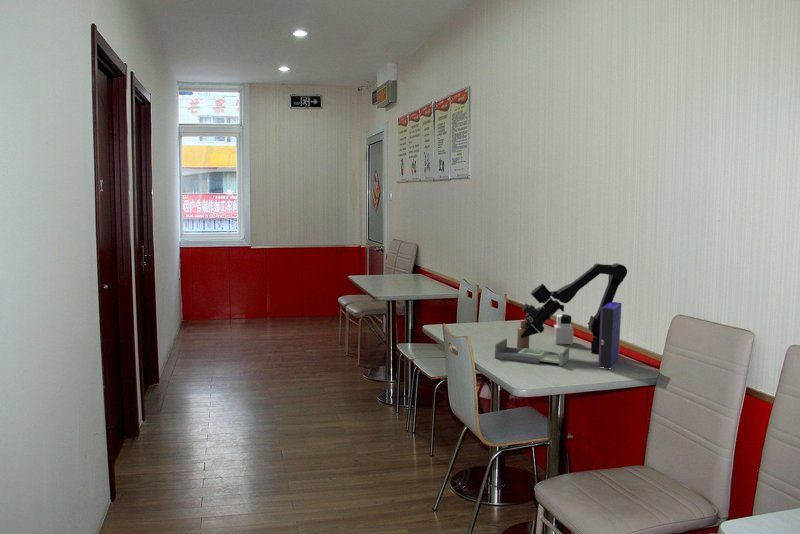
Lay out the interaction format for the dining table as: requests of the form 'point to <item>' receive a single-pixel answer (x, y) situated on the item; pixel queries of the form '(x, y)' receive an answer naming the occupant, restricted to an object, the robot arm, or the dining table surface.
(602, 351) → the cereal box
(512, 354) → the dock
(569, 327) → the container
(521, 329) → the vinegar bottle
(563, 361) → the tray
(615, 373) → the dining table surface
